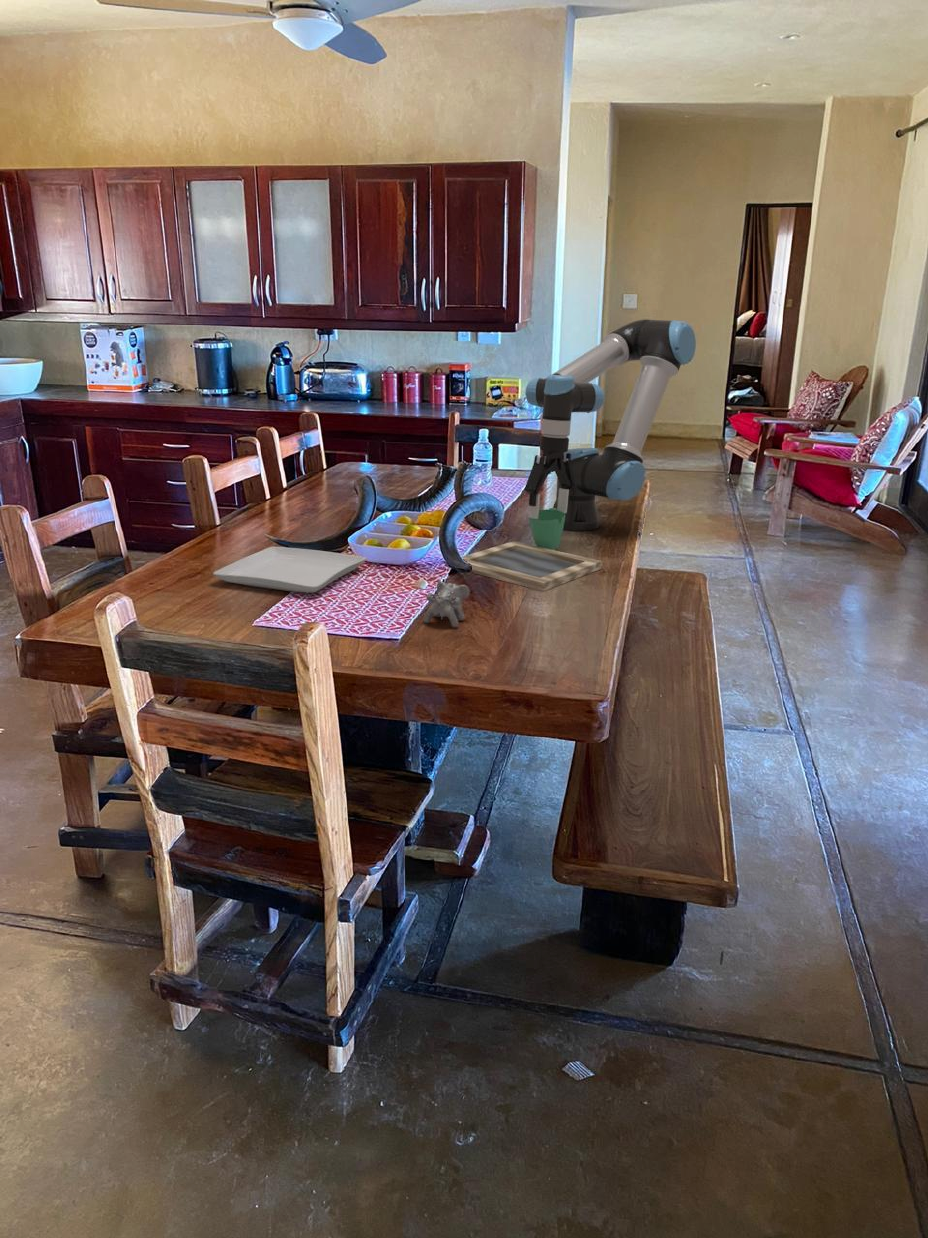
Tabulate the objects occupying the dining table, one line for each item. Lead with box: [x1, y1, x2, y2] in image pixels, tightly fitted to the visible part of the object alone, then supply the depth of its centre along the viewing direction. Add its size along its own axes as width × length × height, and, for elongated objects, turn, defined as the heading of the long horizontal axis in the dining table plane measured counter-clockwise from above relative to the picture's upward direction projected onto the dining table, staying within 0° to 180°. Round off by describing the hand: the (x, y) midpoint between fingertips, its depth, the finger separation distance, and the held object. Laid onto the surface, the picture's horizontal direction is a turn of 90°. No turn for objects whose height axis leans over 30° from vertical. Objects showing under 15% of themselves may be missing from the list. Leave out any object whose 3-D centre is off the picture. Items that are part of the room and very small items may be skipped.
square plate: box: [212, 545, 367, 594], centre depth 214 cm, size 27×27×4 cm
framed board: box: [461, 540, 603, 592], centre depth 226 cm, size 26×28×2 cm
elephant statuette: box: [423, 580, 471, 628], centre depth 188 cm, size 9×12×8 cm
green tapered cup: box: [528, 507, 565, 551], centre depth 243 cm, size 15×10×10 cm
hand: (547, 515), depth 242 cm, fingers closed on green tapered cup, 13 cm apart
